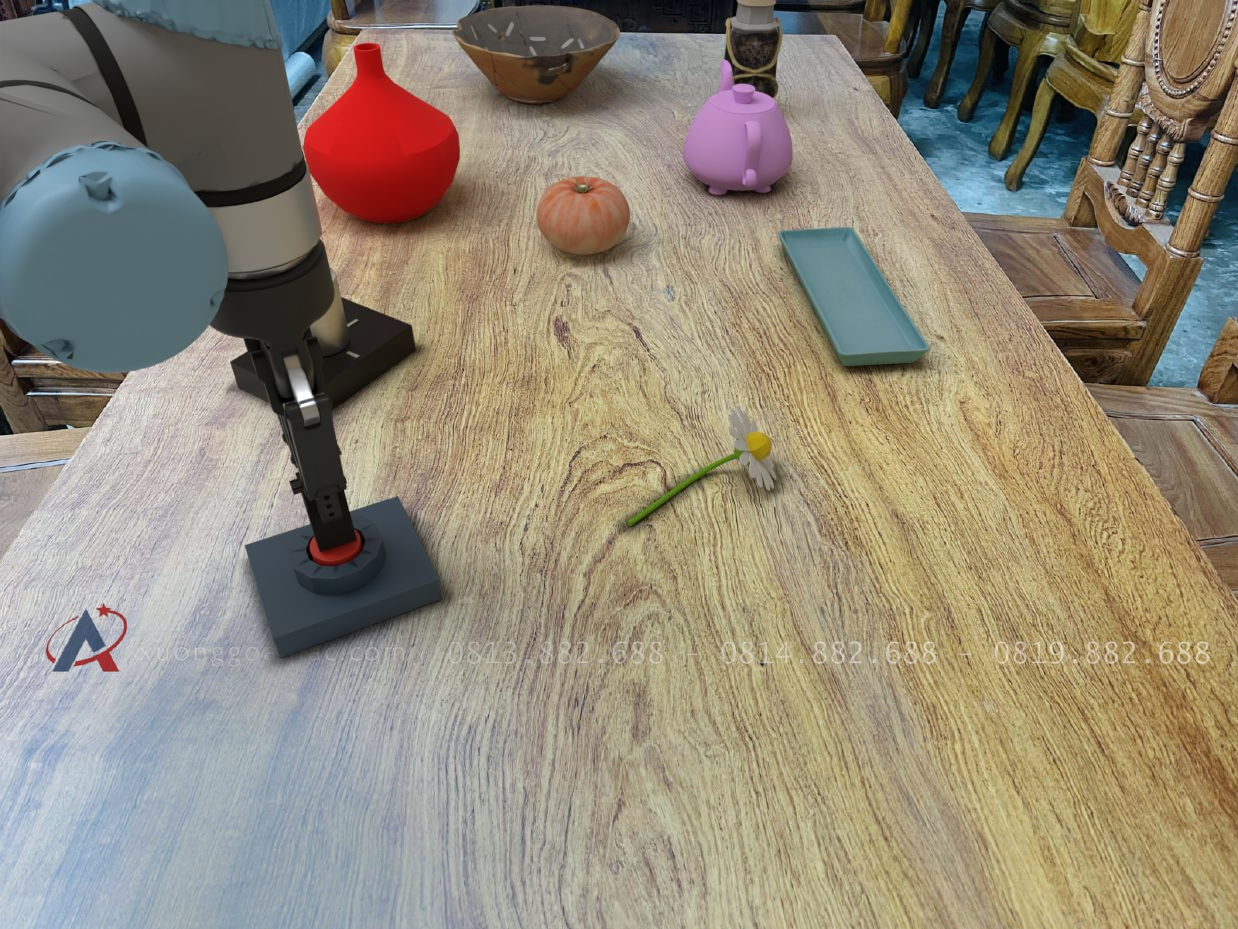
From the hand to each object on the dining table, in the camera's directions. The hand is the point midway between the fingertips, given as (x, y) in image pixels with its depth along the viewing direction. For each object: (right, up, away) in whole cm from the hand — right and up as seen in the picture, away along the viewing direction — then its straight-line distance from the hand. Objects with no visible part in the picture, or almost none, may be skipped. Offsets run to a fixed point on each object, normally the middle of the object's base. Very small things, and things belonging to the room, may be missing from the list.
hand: (335, 539), depth 69 cm
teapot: (+36, +44, +57) cm, 80 cm away
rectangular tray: (+45, +23, +34) cm, 61 cm away
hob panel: (-8, +15, +24) cm, 29 cm away
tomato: (+17, +31, +43) cm, 55 cm away
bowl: (+8, +63, +79) cm, 102 cm away
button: (0, -2, +1) cm, 2 cm away
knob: (-8, +17, +22) cm, 29 cm away
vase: (-8, +38, +50) cm, 63 cm away
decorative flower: (+29, +2, +10) cm, 31 cm away
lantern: (+40, +57, +73) cm, 101 cm away
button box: (0, -3, +3) cm, 5 cm away
